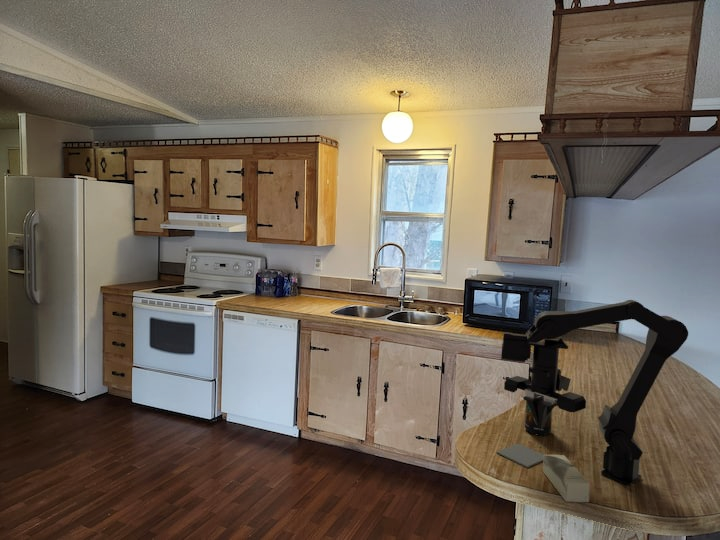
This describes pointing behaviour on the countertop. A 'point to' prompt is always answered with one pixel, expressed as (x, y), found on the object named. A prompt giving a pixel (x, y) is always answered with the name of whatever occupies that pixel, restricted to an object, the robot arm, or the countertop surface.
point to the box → (566, 478)
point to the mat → (522, 455)
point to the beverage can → (532, 425)
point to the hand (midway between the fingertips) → (540, 427)
